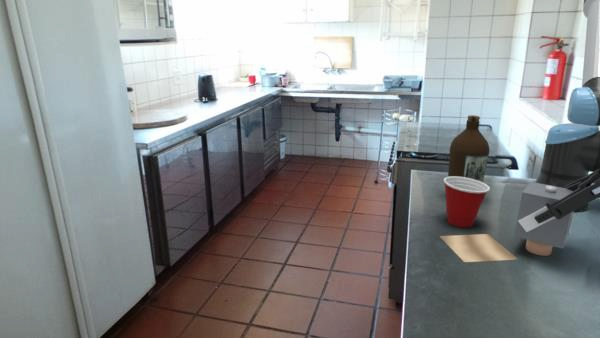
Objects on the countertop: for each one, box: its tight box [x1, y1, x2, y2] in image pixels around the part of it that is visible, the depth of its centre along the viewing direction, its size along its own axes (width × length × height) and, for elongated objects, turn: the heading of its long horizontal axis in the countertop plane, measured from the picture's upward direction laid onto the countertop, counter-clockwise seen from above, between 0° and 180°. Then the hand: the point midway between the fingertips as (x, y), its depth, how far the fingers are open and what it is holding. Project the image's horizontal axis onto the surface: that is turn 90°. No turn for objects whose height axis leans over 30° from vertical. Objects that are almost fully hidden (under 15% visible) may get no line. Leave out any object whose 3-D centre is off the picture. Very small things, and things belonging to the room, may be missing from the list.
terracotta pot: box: [525, 239, 554, 257], centre depth 90 cm, size 5×5×5 cm
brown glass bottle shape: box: [447, 114, 490, 183], centre depth 120 cm, size 11×11×25 cm
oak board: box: [439, 233, 519, 263], centre depth 92 cm, size 12×12×1 cm
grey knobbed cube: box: [514, 181, 574, 249], centre depth 88 cm, size 9×9×11 cm
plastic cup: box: [443, 176, 491, 228], centre depth 103 cm, size 11×11×12 cm
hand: (527, 219), depth 90 cm, fingers closed on grey knobbed cube, 9 cm apart
